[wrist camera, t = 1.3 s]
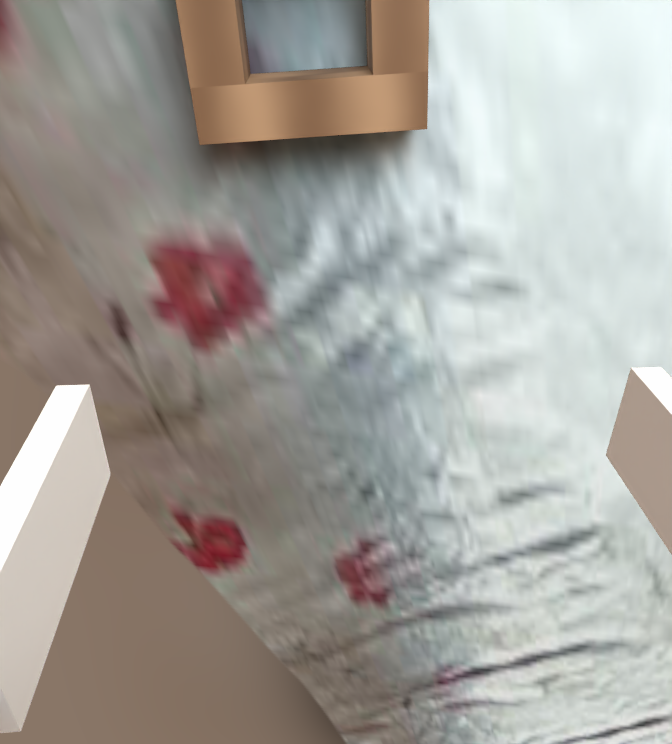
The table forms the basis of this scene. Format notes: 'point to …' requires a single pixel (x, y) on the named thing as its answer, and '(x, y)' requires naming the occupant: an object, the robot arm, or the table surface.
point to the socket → (305, 78)
